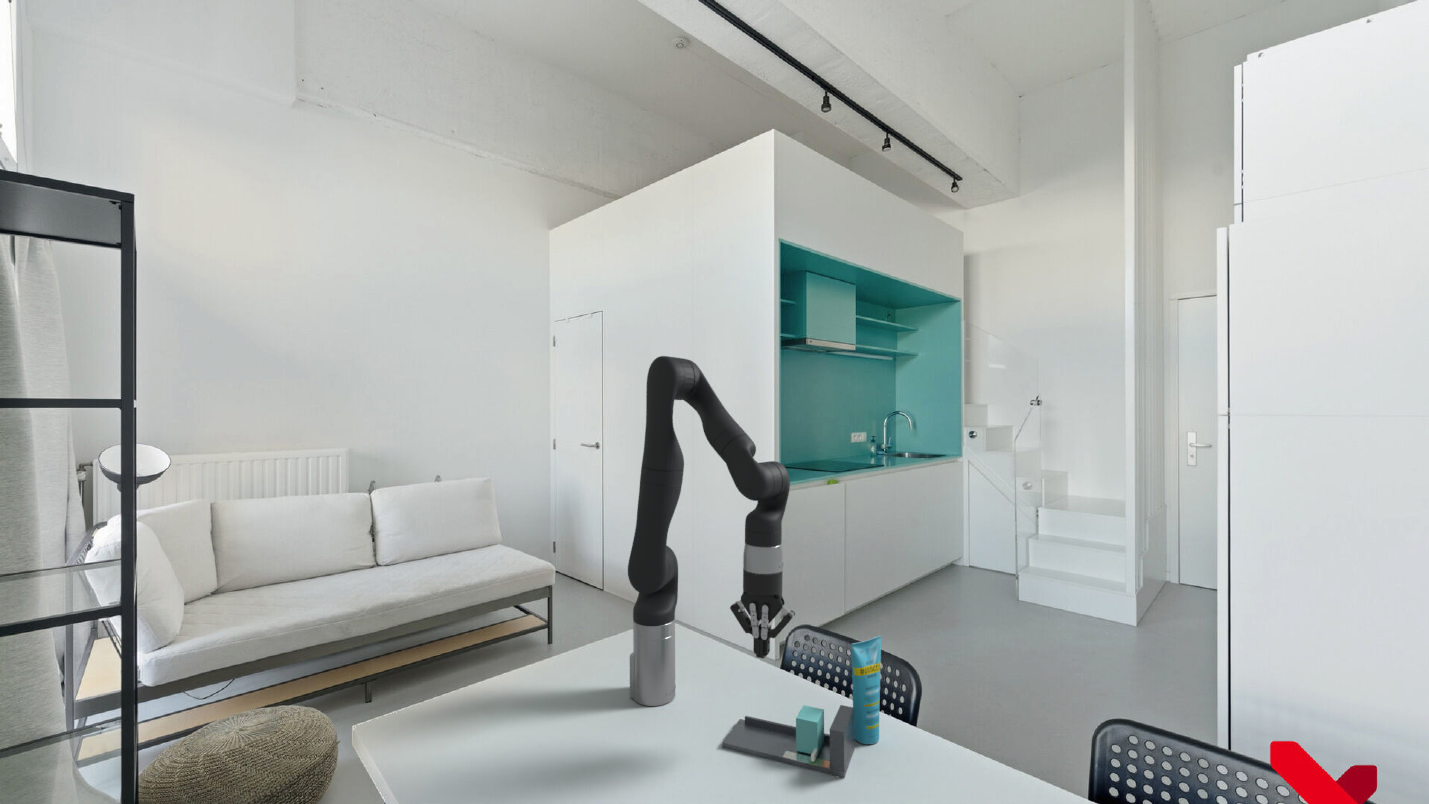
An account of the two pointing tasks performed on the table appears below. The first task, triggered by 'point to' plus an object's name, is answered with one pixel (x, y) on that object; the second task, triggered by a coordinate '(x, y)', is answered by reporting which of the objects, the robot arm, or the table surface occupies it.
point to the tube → (866, 689)
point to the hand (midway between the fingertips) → (761, 656)
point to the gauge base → (781, 743)
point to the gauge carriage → (810, 730)
